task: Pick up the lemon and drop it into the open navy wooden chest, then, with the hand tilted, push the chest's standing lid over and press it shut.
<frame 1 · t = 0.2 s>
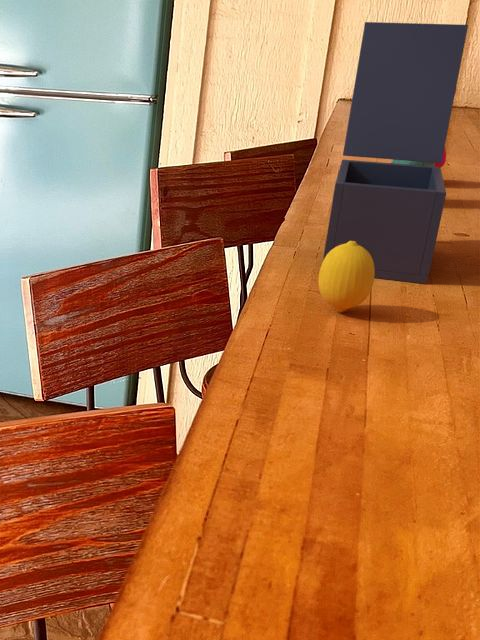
chest lid: (403, 92, 114), point 20 cm above the breakfast bar, hinge at 100.0°
beverage bottle: (405, 203, 143), on the breakfast bar
lemon: (339, 313, 96), on the breakfast bar
chest: (374, 259, 114), on the breakfast bar
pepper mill: (417, 184, 157), on the breakfast bar
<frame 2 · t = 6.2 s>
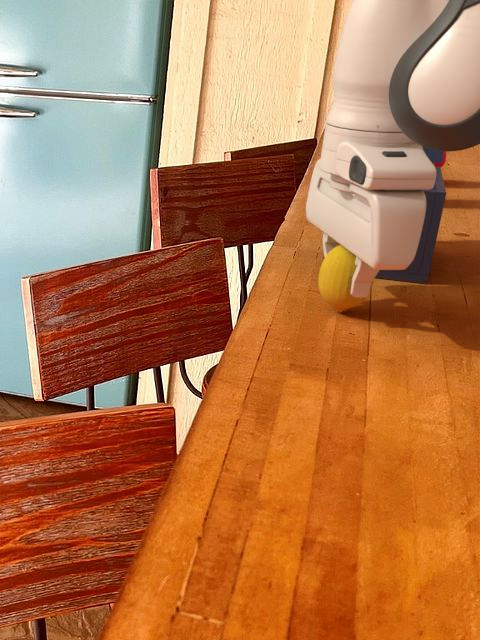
hand: (344, 284, 95), 3 cm above the breakfast bar, tool pointing down, fingers closed on lemon, 5 cm apart
lemon: (339, 313, 96), on the breakfast bar, touching gripper
everything else where it was.
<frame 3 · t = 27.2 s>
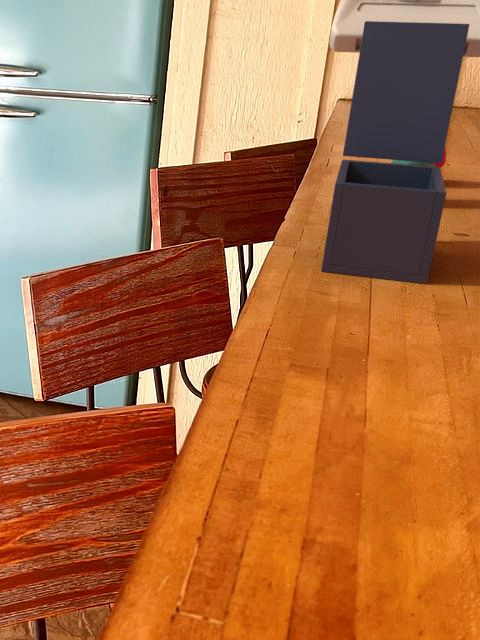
hand: (405, 75, 114), 22 cm above the breakfast bar, tool tilted 45°, fingers closed, pressing on chest lid
chest lid: (403, 92, 113), point 20 cm above the breakfast bar, hinge at 93.5°, touching gripper
lemon: (374, 253, 112), point 1 cm above the breakfast bar, touching chest
everything else where it was.
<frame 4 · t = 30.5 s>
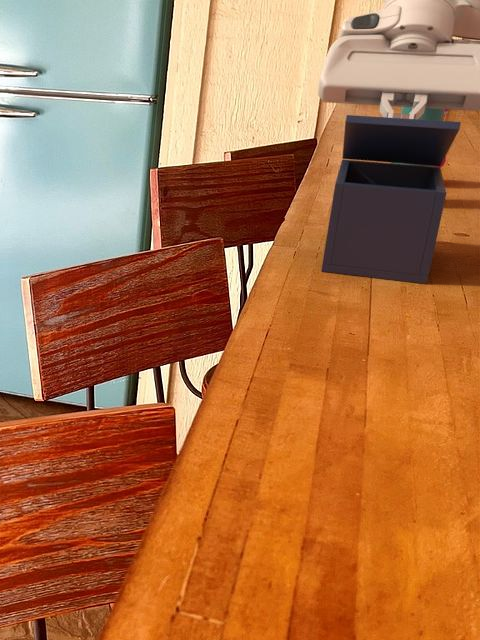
hand: (398, 130, 106), 17 cm above the breakfast bar, tool tilted 45°, fingers closed
chest lid: (396, 142, 108), point 15 cm above the breakfast bar, hinge at 24.1°
everything else where it was.
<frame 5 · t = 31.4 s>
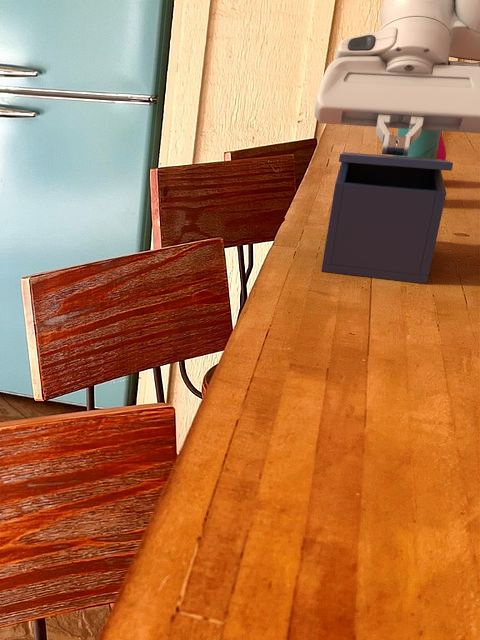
hand: (394, 152, 106), 14 cm above the breakfast bar, tool tilted 45°, fingers closed, pressing on chest lid
chest lid: (392, 160, 109), point 13 cm above the breakfast bar, hinge at 8.7°, touching gripper
everything else where it was.
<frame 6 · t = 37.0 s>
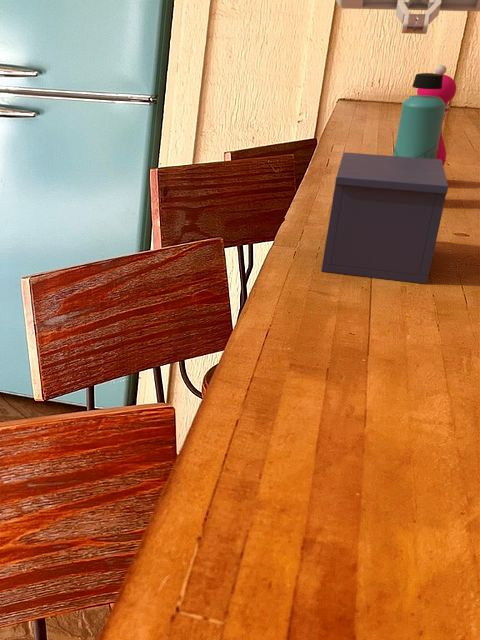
hand: (414, 30, 111), 27 cm above the breakfast bar, tool tilted 45°, fingers closed
chest lid: (390, 171, 109), point 11 cm above the breakfast bar, hinge at -0.2°, touching chest
everything else where it was.
at the end: lemon inside the target area in the chest (2.1 cm from its centre), point 1.4 cm above the chest's base; chest lid at +0° (first picture: +100°) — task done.
